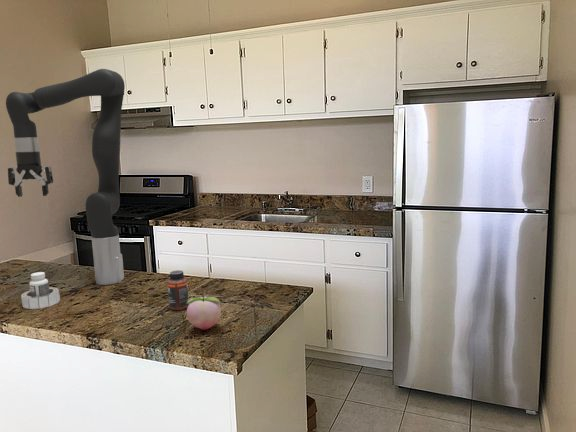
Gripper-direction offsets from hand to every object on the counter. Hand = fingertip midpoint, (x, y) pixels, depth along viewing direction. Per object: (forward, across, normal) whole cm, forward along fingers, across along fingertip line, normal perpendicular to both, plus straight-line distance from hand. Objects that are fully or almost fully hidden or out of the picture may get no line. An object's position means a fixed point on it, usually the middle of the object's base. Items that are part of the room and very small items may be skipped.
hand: (32, 196), depth 166 cm
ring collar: (+32, +9, -24) cm, 41 cm away
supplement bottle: (+32, +54, -36) cm, 72 cm away
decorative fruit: (+32, +63, -54) cm, 89 cm away
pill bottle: (+32, +9, -24) cm, 41 cm away
